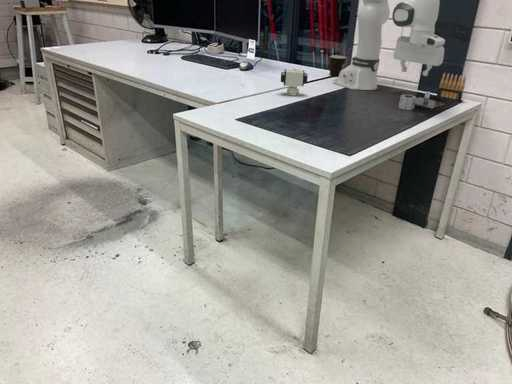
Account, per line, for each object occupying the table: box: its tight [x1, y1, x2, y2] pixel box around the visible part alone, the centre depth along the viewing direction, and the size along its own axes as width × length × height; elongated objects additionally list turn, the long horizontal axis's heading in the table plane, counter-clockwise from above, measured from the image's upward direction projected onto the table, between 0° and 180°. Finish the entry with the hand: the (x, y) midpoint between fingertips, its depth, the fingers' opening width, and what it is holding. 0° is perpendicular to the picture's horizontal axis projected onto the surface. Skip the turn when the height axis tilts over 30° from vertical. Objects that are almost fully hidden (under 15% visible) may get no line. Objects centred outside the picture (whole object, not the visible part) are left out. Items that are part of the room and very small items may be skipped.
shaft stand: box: [415, 91, 446, 110], centre depth 184 cm, size 12×12×5 cm
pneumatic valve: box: [280, 67, 308, 97], centre depth 187 cm, size 6×12×12 cm, turn 89°
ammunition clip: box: [435, 72, 467, 101], centre depth 190 cm, size 11×2×12 cm, turn 55°
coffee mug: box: [329, 54, 347, 78], centre depth 226 cm, size 12×9×10 cm
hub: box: [398, 94, 417, 111], centre depth 177 cm, size 6×6×5 cm
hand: (414, 73), depth 171 cm, fingers open, 8 cm apart
